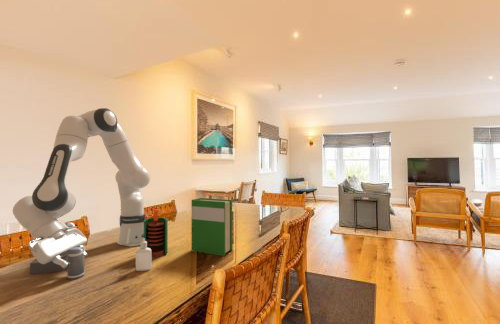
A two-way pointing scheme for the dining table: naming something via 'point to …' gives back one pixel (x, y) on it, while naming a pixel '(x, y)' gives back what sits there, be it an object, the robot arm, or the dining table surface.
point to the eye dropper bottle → (143, 257)
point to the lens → (75, 263)
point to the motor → (156, 234)
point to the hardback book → (212, 225)
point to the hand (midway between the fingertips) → (76, 261)
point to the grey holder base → (46, 266)
